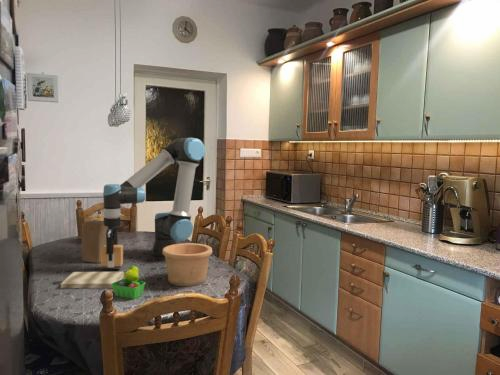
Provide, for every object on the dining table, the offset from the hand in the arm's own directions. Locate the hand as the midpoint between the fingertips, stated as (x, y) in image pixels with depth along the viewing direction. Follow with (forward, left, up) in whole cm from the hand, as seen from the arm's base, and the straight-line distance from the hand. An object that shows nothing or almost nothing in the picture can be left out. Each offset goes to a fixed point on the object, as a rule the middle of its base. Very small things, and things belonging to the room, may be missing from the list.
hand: (112, 265), depth 190 cm
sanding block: (0, 0, -1) cm, 1 cm away
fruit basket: (-14, +33, -3) cm, 36 cm away
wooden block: (+12, -17, -3) cm, 21 cm away
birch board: (+4, +17, -2) cm, 18 cm away
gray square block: (+17, +17, -3) cm, 24 cm away
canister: (+20, -56, -3) cm, 60 cm away
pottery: (-36, +16, -3) cm, 40 cm away
